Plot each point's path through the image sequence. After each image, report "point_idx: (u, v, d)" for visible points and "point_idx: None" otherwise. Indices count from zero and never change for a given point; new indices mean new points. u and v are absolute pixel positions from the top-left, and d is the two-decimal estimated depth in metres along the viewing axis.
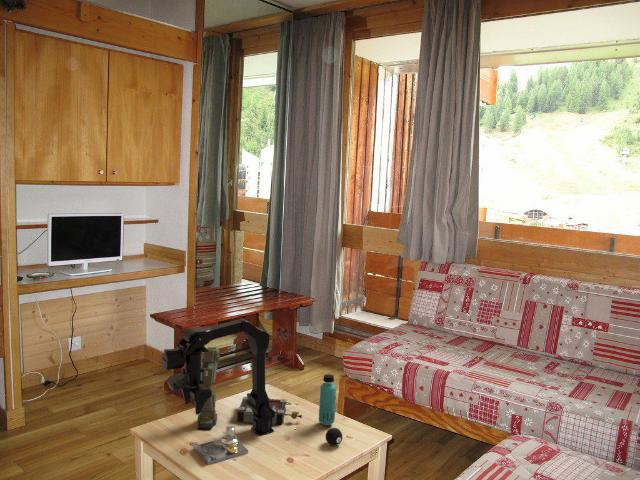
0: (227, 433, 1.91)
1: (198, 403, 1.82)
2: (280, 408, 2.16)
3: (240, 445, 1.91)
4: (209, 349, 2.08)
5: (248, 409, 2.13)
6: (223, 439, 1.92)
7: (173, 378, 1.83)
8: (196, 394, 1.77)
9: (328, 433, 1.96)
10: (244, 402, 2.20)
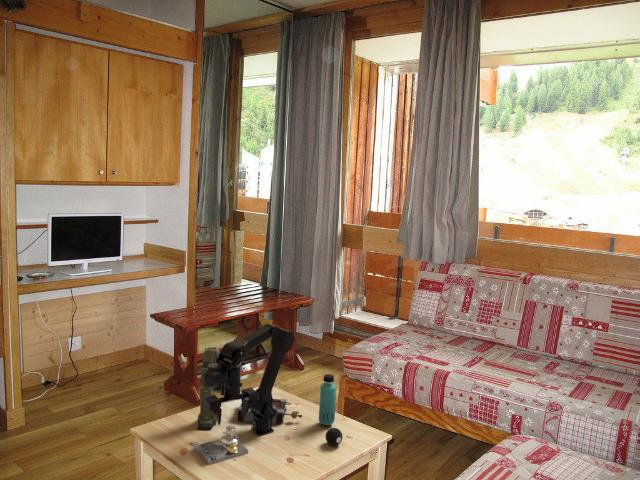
0: (227, 433, 1.91)
1: (215, 413, 1.88)
2: (280, 408, 2.16)
3: (240, 445, 1.91)
4: (209, 349, 2.08)
5: None
6: (223, 439, 1.92)
7: None
8: (204, 399, 1.88)
9: (328, 433, 1.96)
10: None
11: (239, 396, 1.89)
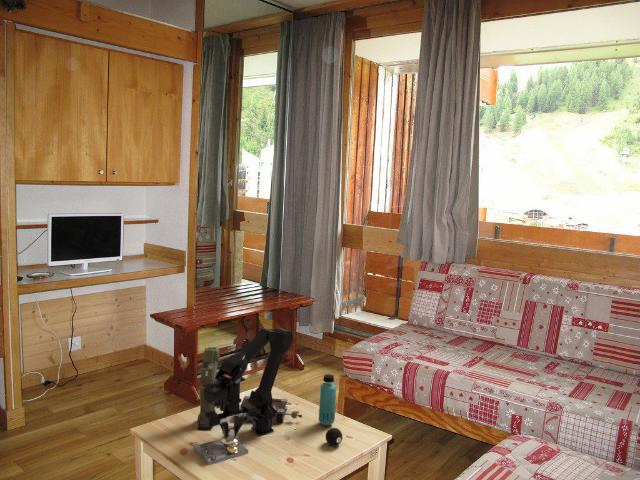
0: None
1: (222, 427, 1.91)
2: (280, 407, 2.16)
3: (240, 445, 1.91)
4: (209, 349, 2.08)
5: None
6: (223, 439, 1.92)
7: None
8: None
9: (328, 433, 1.96)
10: (245, 400, 2.21)
11: (238, 412, 1.90)
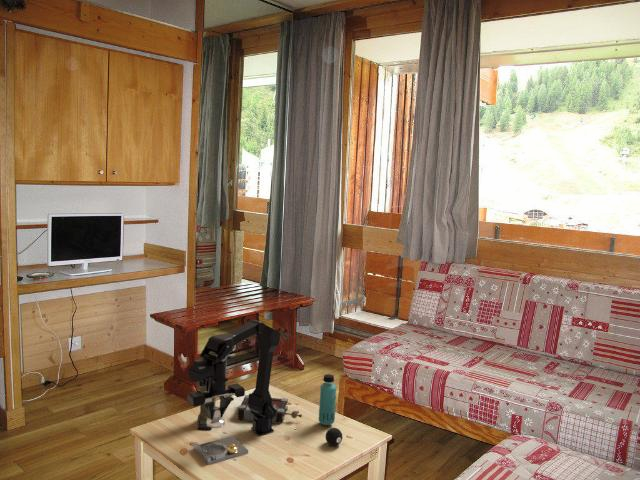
0: None
1: (207, 407, 1.82)
2: (280, 407, 2.17)
3: (240, 445, 1.91)
4: None
5: (248, 407, 2.14)
6: (208, 420, 1.84)
7: None
8: (188, 394, 1.80)
9: (328, 433, 1.96)
10: (245, 400, 2.22)
11: (224, 391, 1.82)
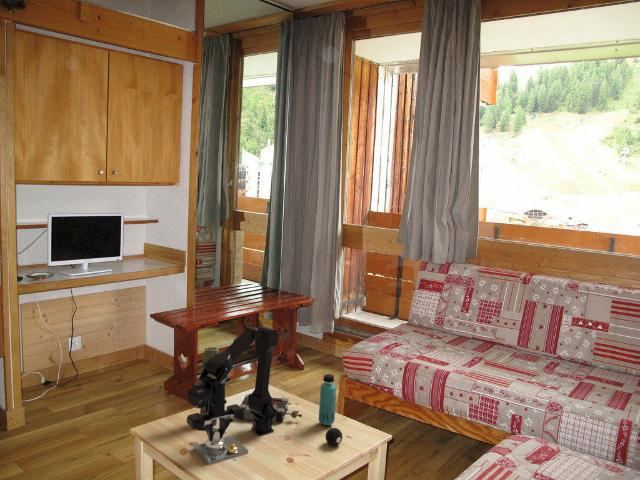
0: (212, 435, 1.84)
1: (207, 429, 1.83)
2: (281, 407, 2.17)
3: (240, 445, 1.91)
4: (209, 349, 2.08)
5: None
6: (208, 442, 1.85)
7: None
8: (187, 417, 1.81)
9: (328, 433, 1.96)
10: (246, 399, 2.22)
11: (223, 413, 1.83)
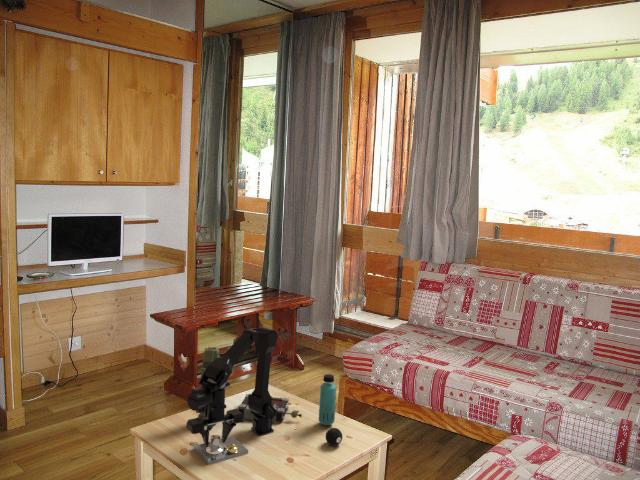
0: (212, 442, 1.84)
1: (203, 435, 1.83)
2: (281, 406, 2.17)
3: (240, 445, 1.91)
4: (209, 349, 2.08)
5: None
6: (207, 449, 1.85)
7: None
8: (187, 422, 1.81)
9: (328, 433, 1.96)
10: (246, 399, 2.22)
11: (223, 418, 1.83)
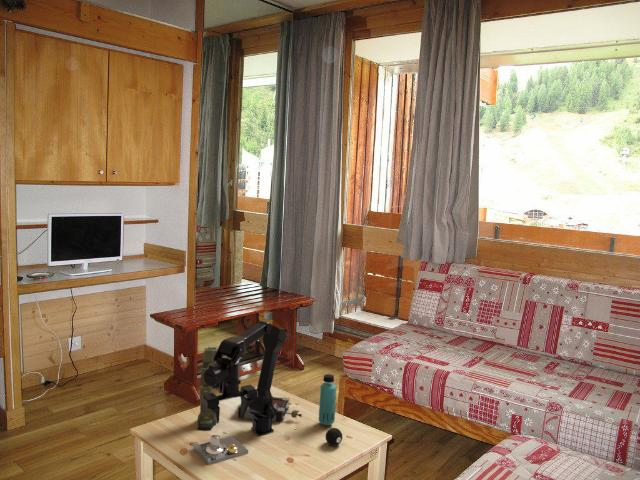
0: (212, 442, 1.84)
1: (213, 411, 1.84)
2: (281, 406, 2.17)
3: (240, 445, 1.91)
4: (209, 349, 2.08)
5: None
6: (207, 449, 1.85)
7: None
8: (202, 397, 1.83)
9: (328, 433, 1.96)
10: None
11: (238, 394, 1.85)
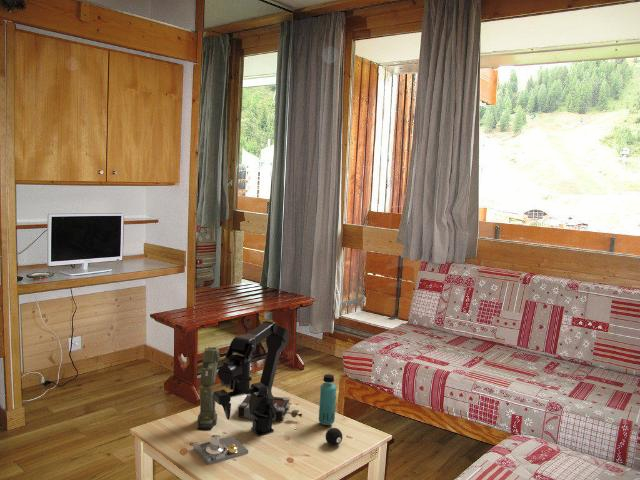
0: (212, 442, 1.84)
1: (224, 407, 1.86)
2: (281, 406, 2.18)
3: (240, 445, 1.91)
4: (209, 349, 2.08)
5: None
6: (207, 449, 1.85)
7: None
8: (213, 393, 1.85)
9: (328, 433, 1.96)
10: (247, 398, 2.24)
11: (248, 390, 1.87)
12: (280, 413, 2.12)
